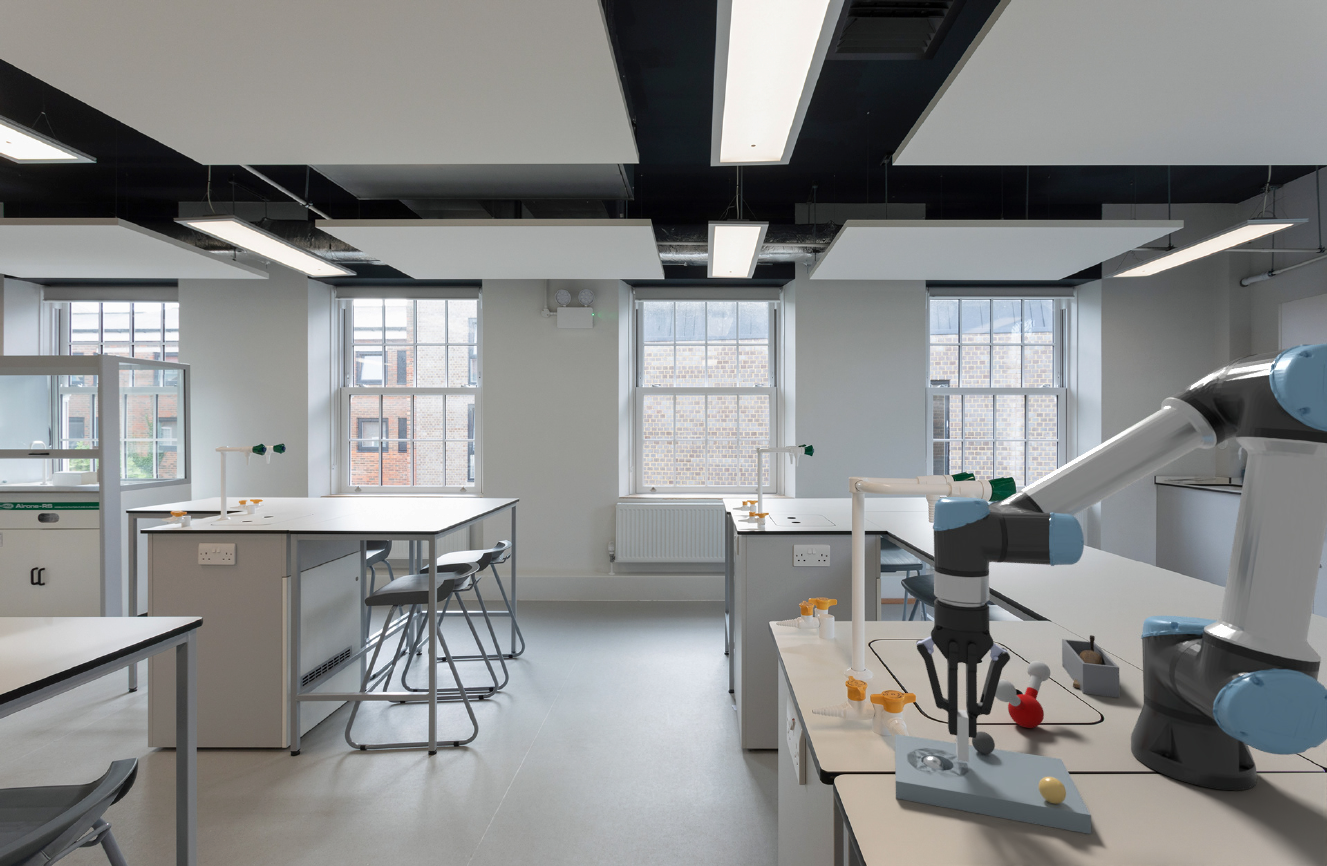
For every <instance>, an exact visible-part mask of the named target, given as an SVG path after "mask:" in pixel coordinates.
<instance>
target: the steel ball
mask: <svg viewBox="0 0 1327 866" xmlns="http://www.w3.org/2000/svg"><path fill="white" fill-rule="evenodd" d="M922 763H923V764H924V765H926V766H927V767H930V768H932V769H935V770H941V771H944V766H943V764H942V762H941V761H940V760H939V759H938V758H936V757H934V756H927V757H925V758H924V759H923V761H922Z"/></svg>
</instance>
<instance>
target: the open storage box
mask: <svg viewBox="0 0 1327 866" xmlns="http://www.w3.org/2000/svg"><path fill="white" fill-rule="evenodd" d="M1090 649H1091V646H1090V641H1088V640H1076V639H1065V638H1063V639H1062V638H1061V659H1062V660H1061V661H1062V663H1061V664H1062V667H1063V669H1064V670H1065V671H1066V673H1067V674H1068V675H1069V677H1070V678H1071V679H1072V680H1073V681H1074V680H1075V678H1076V680H1077V681H1078V683H1079V684H1080V688H1079V690H1080V691H1081V692H1082V694H1084V695H1085V694H1086V695H1093V696H1101V697H1110V698H1111V697H1113V698H1117V699H1118V698H1119V699H1120V693H1121V692H1120V689H1121V688H1120V666H1118V664H1117V663H1116V662H1115V661H1114V660H1112V658H1111V657H1109V655H1108V654H1107V653H1106V652H1104V651H1103V649H1102V648H1100V647H1099V645H1097V643H1096V642H1095V641H1094V652H1096V653H1098V654H1099V655H1101V657H1102V665H1098V664H1088V663H1084V661H1083V660H1082V659H1081V658H1080V657H1079V655H1080V653H1081V652H1082V651H1085V650H1090Z"/></svg>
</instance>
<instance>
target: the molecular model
mask: <svg viewBox="0 0 1327 866" xmlns="http://www.w3.org/2000/svg"><path fill="white" fill-rule="evenodd" d="M1027 673H1028V675H1029V677H1030V679H1029V680H1028V684H1027V687H1026V689H1025V693H1023V694H1022V693H1021V694H1020V693H1019V694H1017V689H1016V687H1015V685H1014V683H1012V682H1011V681H1009V680H1008V679H1004V678H1002V679H999V683H998V687H997V690H996V694H995V698H996V699H997V700H998V701H1000V702H1003V703H1008V705H1007V706H1008V707H1007V710H1008V714H1009V716H1010V718H1011V719H1012V720H1013V722H1015V724H1016V725H1019V726H1020V727H1022V728H1025V729H1033V728H1036V727H1039V726H1040V725H1041V724H1042V722H1043V720H1044V718H1045V716H1044V715H1045V713H1044V708H1043V707H1042V704H1041V703H1040V702H1039V701H1038V700H1037V698H1038V694H1039V692H1040V689H1041V685H1042V683H1043V682H1045V681H1047V680H1049V678H1050V677H1051V669H1050V666H1048V665H1047V664H1046V663H1045V662H1043V661H1041V660H1033V661H1031V662H1029V664H1028V665H1027Z"/></svg>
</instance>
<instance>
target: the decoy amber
mask: <svg viewBox="0 0 1327 866" xmlns="http://www.w3.org/2000/svg"><path fill="white" fill-rule="evenodd" d="M1039 791H1040V794H1041V795H1042V797H1043V798H1044V799H1045V800H1047V801H1048V802H1050V803H1054V804H1059V803H1061V802H1063V801H1064V800H1065V798H1066V789H1065V787H1064V785H1063V784H1062V783H1061V782H1060V781H1059V780H1058V779H1056V778H1054V777H1044V778H1042V779H1041V780H1040V782H1039Z"/></svg>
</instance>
